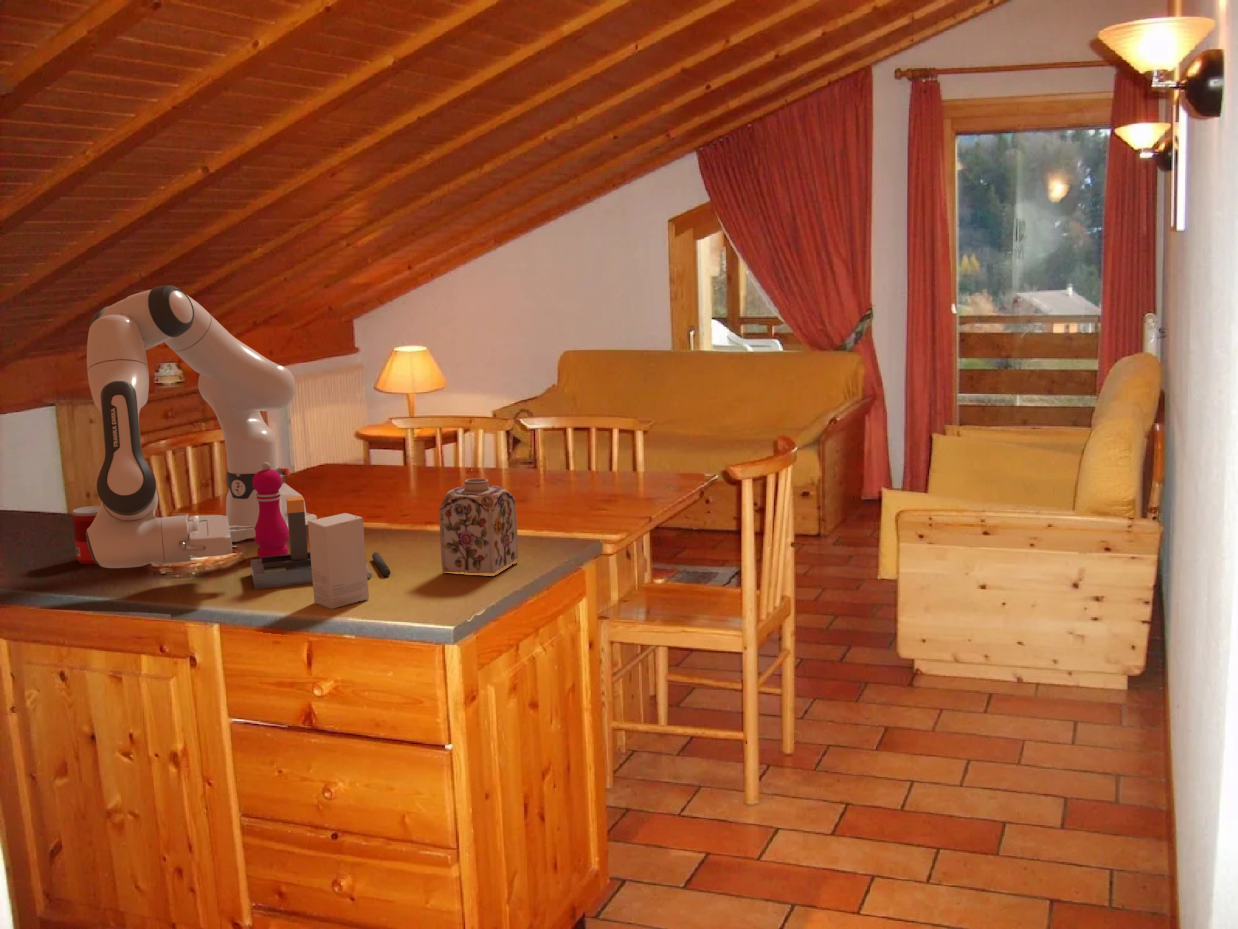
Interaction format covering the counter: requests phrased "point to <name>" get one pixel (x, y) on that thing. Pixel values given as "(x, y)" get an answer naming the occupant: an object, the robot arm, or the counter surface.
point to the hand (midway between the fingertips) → (255, 531)
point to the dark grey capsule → (379, 565)
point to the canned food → (83, 531)
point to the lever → (297, 528)
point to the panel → (280, 571)
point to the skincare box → (338, 560)
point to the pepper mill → (269, 514)
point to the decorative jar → (478, 528)
